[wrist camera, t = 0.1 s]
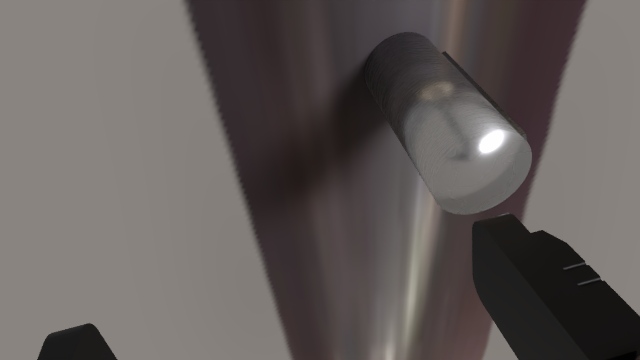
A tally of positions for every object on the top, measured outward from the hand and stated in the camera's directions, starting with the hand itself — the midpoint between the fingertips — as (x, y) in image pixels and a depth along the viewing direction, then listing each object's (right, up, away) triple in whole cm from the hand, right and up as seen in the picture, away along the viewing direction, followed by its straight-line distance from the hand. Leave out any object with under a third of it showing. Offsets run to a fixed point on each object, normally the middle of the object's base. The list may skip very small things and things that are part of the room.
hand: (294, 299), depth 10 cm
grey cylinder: (+6, +10, +23) cm, 26 cm away
